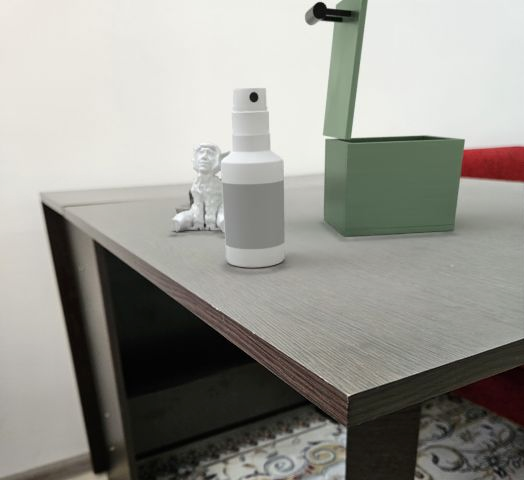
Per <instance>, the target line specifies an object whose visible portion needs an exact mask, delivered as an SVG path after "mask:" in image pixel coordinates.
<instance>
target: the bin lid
mask: <svg viewBox="0 0 524 480" xmlns="http://www.w3.org/2000/svg"><path fill="white" fill-rule="evenodd" d="M368 3H369V0H340V1H339V2H338V3H336V5H335V8H330V7H327V4H325V2H323V1H317V2H316V3H314V4H313V5H312V6H311V7H310V8H309V9H308V10H307V11H306V12H305V14H304V20H305V23H306V24H307V25H308V26H315V25H316V24H318V23H319V22H326V23H333V30H332V41H331V49H330V59H329V60H330V61H329V70H328V80H327V90H326V100H325V110H324V118H323V119H324V120H323V130H322V136H324V137H328V138H329V137H330V138H333V139H336V138H340V139H345V140H351V138H352V133H353V127H354V126H353V125H354V119H355V118H354V117H355V108H356V103H357V102H356V100H357V93H358V86H359V85H358V84H359V76H360V70H361V69H360V68H361V61H362V51H363V44H364V36H365V35H364V34H365V27H366V18H367V11H368Z"/></svg>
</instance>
